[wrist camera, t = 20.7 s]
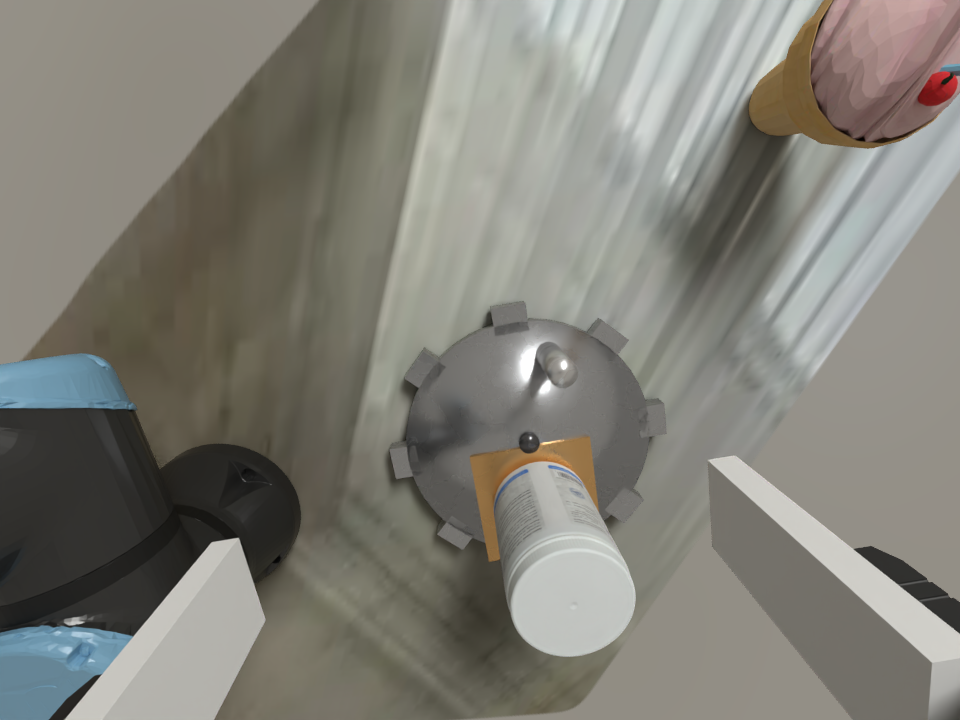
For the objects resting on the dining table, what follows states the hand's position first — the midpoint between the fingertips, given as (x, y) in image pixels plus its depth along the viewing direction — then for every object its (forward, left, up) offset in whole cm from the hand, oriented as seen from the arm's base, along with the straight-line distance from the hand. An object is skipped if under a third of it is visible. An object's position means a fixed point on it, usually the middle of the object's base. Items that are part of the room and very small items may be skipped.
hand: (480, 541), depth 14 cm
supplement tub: (+4, -19, -33) cm, 38 cm away
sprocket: (+4, -12, -35) cm, 37 cm away
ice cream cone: (+30, +15, -35) cm, 48 cm away
